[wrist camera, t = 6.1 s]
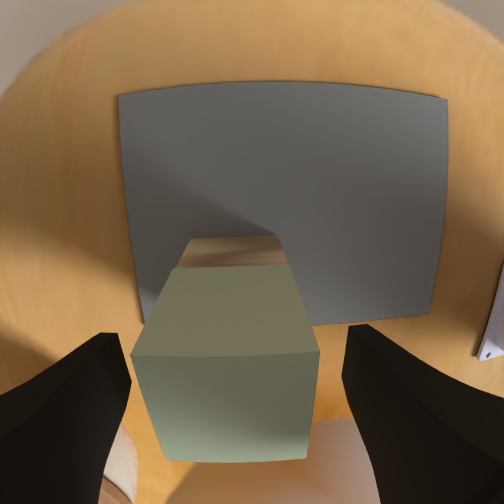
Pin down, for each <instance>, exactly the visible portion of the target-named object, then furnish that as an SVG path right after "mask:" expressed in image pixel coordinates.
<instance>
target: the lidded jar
mask: <svg viewBox="0 0 504 504" xmlns="http://www.w3.org/2000/svg"><path fill="white" fill-rule="evenodd" d="M137 482H138V460H137V454H136V450H135V446H134V443H133V441H132V438H131V436H130V434H129V432H128V431H127V429H126V427H125V426H124V424H123V423H122V421H121V423H120V426H119V429H118V431H117V434H116V437H115V439H114V442H113V445H112V448H111V450H110V453H109V456H108V459H107V462H106V466H105V469H104V474H103V479H102V484H101V489H100V495H99V502H98V504H134V501H135V496H136V491H137Z"/></svg>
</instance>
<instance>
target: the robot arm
mask: <svg viewBox="0 0 504 504" xmlns="http://www.w3.org/2000/svg"><path fill="white" fill-rule="evenodd" d="M500 355H504V265H503V268H502V273H501V277H500V281H499V286H498V290H497V293H496V297H495V301H494V305H493V308H492V312H491V315H490V318H489V322H488V325H487V328H486V331H485V334H484V337H483V340H482V343H481V346H480V348H479V351H478V354H477V359H478V360H479V361H480V362H481V361H485V360H488V359H491V358H494V357H497V356H500ZM341 377H342V381H343V385H344V389H345V393H346V397H347V401H348V404H349V407H350V409H351V412H352V414H353V417H354V419H355V422H356V424H357V427H358V429H359V432H360V434H361V437H362V439H363V442H364V444H365V446H366V450H367V452H368V455H369V458H370V461H371V463H372V467H373V470H374V475H375V479H376V483H377V488H378V492H379V497H380V502H381V504H504V398H502V397H499V396H496V395H493V394H490V393H487V392H484V391H481V390H479V389H476V388H474V387H471V386H469V385H467V384H464V383H462V382H460V381H458V380H456V379H454V378H452V377H450V376H448V375H446V374H444V373H442V372H440V371H438V370H437V369H435V368H433V367H432V366H430V365H428V364H427V363H425V362H423V361H422V360H420V359H418V358H417V357H415V356H414V355H412V354H411V353H409V352H408V351H406V350H405V349H403V348H402V347H400V346H399V345H397V344H396V343H395V342H393V341H392V340H390V339H389V338H387V337H386V336H385V335H383V334H382V333H380V332H379V331H377V330H376V329H374V328H373V327H371V326H369V325H368V324H362V325H353V326H349V328H348V335H347V342H346V349H345V356H344V363H343V369H342V375H341ZM131 383H132V381H131V378H130V374H129V371H128V368H127V365H126V361H125V358H124V355H123V351H122V348H121V344H120V340H119V337H118V333H103V332H101V333H99V334H97V335H95V336H94V337H92V338H91V339H89V340H88V341H86V342H85V343H83V344H82V345H80V346H79V347H78V348H76V349H75V350H73V351H72V352H71V353H69V354H68V355H66V356H65V357H63V358H62V359H61V360H59V361H58V362H56V363H55V364H53V365H52V366H50V367H49V368H47V369H46V370H44V371H43V372H41V373H40V374H38V375H37V376H35V377H33V378H32V379H30V380H29V381H27V382H25V383H23V384H22V385H20V386H18V387H16V388H14V389H12V390H10V391H8V392H6V393H4V394H2V395H0V504H98V502H99V495H100V489H101V484H102V479H103V474H104V469H105V466H106V462H107V459H108V456H109V453H110V450H111V448H112V445H113V442H114V439H115V437H116V434H117V431H118V429H119V426H120V423H121V420H122V418H123V415H124V412H125V409H126V406H127V402H128V398H129V393H130V388H131Z"/></svg>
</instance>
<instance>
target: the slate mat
mask: <svg viewBox="0 0 504 504" xmlns="http://www.w3.org/2000/svg"><path fill="white" fill-rule="evenodd" d="M119 123H120V143H121V158H122V171H123V182H124V193H125V202H126V211H127V219H128V227H129V235H130V242H131V249H132V255H133V262H134V268H135V274H136V279H137V285H138V291H139V296H140V301H141V306H142V311H143V316H144V321H145V323H146V321H147V319H148V317H149V315H150V313H151V311H152V309H153V307H154V305H155V303H156V301H157V299H158V297H159V295H160V293H161V291H162V289H163V287H164V285H165V283H166V281H167V279H168V277H169V275H170V273H171V271H172V269H173V268H176V266H177V264H178V262H179V260H180V258H181V256H182V255H183V253H184V251H185V249H186V247H187V245H188V243H189V241H190V239H193V238H216V237H240V236H267V235H278V238H279V241H280V243H281V246H282V249H283V251H284V254H285V257H286V260H287V263H288V264H289V265H290V268H291V271H292V274H293V276H294V279H295V282H296V285H297V287H298V290H299V293H300V296H301V298H302V301H303V304H304V307H305V310H306V312H307V315H308V318H309V321H310V324H311V326H317V325H329V324H340V323H351V322H361V321H371V320H380V319H388V318H397V317H405V316H412V315H420V314H427V313H429V308H430V304H431V299H432V294H433V289H434V284H435V278H436V273H437V267H438V261H439V254H440V248H441V240H442V233H443V224H444V215H445V204H446V191H447V174H448V101H447V99H442V98H437V97H432V96H427V95H422V94H416V93H410V92H404V91H397V90H390V89H383V88H375V87H366V86H357V85H345V84H332V83H315V82H233V83H215V84H202V85H191V86H181V87H172V88H164V89H156V90H149V91H143V92H136V93H130V94H124V95H119Z"/></svg>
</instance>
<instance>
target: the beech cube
mask: <svg viewBox="0 0 504 504" xmlns="http://www.w3.org/2000/svg"><path fill="white" fill-rule="evenodd" d="M280 264H288V263H287V260H286V257H285V254H284V251H283V249H282V246H281V243H280V241H279V238H278V235H267V236H240V237H216V238H193V239H190V241H189V243H188V245H187V247H186V249H185V251H184V253H183V255H182V256H181V258H180V260H179V262H178V264H177V266H176V268H200V267H228V266H255V265H280Z"/></svg>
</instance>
